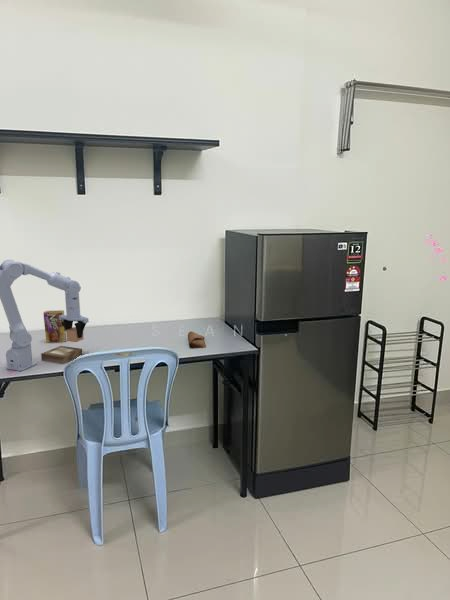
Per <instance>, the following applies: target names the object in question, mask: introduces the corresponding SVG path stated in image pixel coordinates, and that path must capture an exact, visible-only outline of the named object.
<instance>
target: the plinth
mask: <svg viewBox="0 0 450 600" xmlns="http://www.w3.org/2000/svg"><path fill="white" fill-rule="evenodd" d="M40 355H41V361H43V362H44V361H45V362H49V363H56V364H62V365H64V364H67V363H69V362H71V361H73V360H75V359H74V358H76V357H78V356H80V355H82V356H83V355H84V354H83V348H79V347H78V348H77V347H71V346H66V345H64V346H63V345H59V346H56V347H55V348H51V349H49V350H47V351H44V352H42V353H40ZM80 357H81V356H80ZM78 358H79V357H78ZM72 359H73V360H72ZM76 359H77V358H76Z"/></svg>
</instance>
